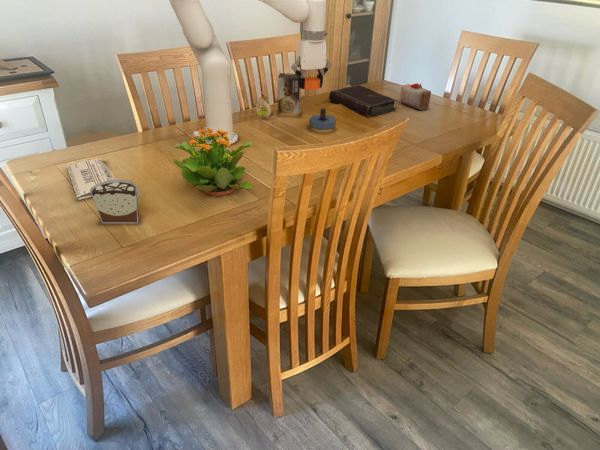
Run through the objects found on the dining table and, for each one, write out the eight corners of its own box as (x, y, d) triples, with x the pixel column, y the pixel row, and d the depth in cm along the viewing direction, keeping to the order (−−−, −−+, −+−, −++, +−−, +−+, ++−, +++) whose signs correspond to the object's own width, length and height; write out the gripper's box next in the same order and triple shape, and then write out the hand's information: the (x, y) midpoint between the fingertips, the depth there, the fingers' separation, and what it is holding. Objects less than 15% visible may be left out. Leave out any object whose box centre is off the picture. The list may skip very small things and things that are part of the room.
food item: (396, 102, 214) (399, 80, 209) (409, 100, 218) (412, 78, 212) (418, 111, 204) (422, 88, 199) (431, 108, 208) (435, 86, 203)
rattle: (280, 117, 193) (280, 89, 187) (265, 121, 189) (264, 93, 182) (269, 112, 198) (269, 85, 192) (253, 116, 193) (253, 88, 187)
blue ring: (317, 130, 178) (317, 124, 176) (305, 122, 185) (306, 116, 183) (339, 127, 181) (339, 121, 180) (327, 119, 188) (327, 113, 187)
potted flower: (277, 192, 139) (277, 136, 130) (210, 220, 125) (205, 160, 115) (226, 164, 154) (222, 113, 144) (161, 187, 140) (153, 131, 130)
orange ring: (306, 90, 168) (307, 82, 166) (298, 85, 173) (299, 77, 171) (322, 89, 170) (322, 80, 169) (314, 84, 175) (314, 76, 174)
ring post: (316, 134, 178) (317, 114, 174) (305, 126, 186) (305, 106, 181) (339, 131, 182) (341, 111, 178) (327, 122, 189) (328, 103, 185)
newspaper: (123, 190, 137) (120, 183, 136) (79, 204, 133) (76, 196, 131) (107, 160, 153) (105, 154, 152) (68, 171, 149) (65, 164, 147)
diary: (366, 118, 196) (367, 106, 193) (328, 101, 212) (329, 90, 210) (397, 110, 205) (399, 98, 202) (359, 95, 222) (360, 84, 219)
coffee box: (300, 112, 199) (302, 73, 191) (299, 117, 194) (300, 77, 185) (279, 110, 200) (279, 72, 191) (277, 116, 195) (277, 76, 186)
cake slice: (149, 211, 128) (144, 178, 122) (144, 223, 123) (137, 189, 117) (103, 211, 127) (96, 178, 122) (96, 223, 122) (87, 189, 117)
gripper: (329, 32, 168) (326, 82, 178) (286, 34, 162) (284, 86, 171) (340, 36, 163) (336, 88, 172) (295, 38, 156) (293, 92, 165)
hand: (310, 87), depth 172 cm, fingers closed on orange ring, 6 cm apart
